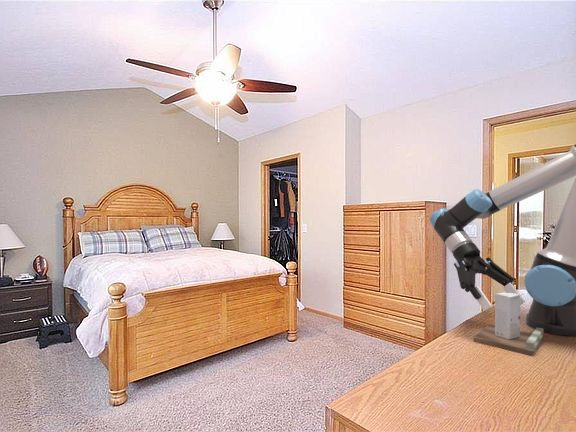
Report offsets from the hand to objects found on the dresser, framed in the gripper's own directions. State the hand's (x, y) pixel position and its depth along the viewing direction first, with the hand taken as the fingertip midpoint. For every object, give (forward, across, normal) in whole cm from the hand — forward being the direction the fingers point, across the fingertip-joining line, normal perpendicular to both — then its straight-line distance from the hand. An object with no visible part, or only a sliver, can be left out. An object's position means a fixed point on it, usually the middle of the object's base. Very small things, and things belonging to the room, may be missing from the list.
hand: (505, 306), depth 101 cm
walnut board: (+8, 0, -6) cm, 10 cm away
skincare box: (+6, -1, -6) cm, 9 cm away
